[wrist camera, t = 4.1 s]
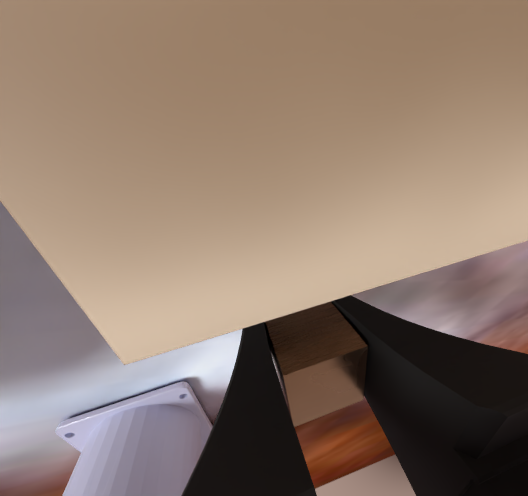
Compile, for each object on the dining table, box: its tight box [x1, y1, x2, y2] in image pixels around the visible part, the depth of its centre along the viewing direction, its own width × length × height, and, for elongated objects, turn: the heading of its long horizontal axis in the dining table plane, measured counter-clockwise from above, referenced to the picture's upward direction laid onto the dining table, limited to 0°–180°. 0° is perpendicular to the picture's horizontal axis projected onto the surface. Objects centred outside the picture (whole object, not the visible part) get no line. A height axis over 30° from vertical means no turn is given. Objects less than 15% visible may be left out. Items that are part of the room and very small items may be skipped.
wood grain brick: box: [265, 301, 368, 427], centre depth 7 cm, size 12×3×6 cm, turn 10°
